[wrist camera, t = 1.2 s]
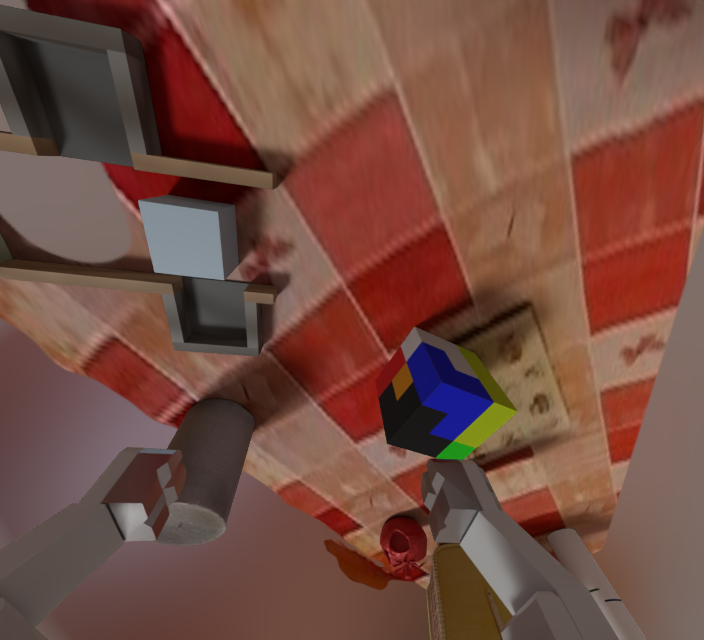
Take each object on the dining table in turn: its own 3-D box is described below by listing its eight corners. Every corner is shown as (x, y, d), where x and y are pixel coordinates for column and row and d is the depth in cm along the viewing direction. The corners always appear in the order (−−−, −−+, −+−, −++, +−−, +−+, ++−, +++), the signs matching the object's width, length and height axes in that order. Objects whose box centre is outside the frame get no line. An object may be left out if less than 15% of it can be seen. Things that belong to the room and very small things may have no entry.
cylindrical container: (571, 539, 70) (676, 705, 49) (544, 542, 70) (636, 710, 49) (579, 526, 66) (696, 700, 45) (550, 530, 67) (652, 706, 45)
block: (168, 194, 25) (138, 200, 21) (235, 204, 26) (217, 211, 22) (179, 257, 28) (154, 272, 24) (239, 264, 29) (224, 280, 25)
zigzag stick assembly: (-144, -15, 18) (-243, -51, 15) (277, 68, 21) (267, 52, 18) (36, 328, 31) (4, 345, 28) (277, 346, 34) (271, 364, 31)
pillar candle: (189, 437, 42) (127, 560, 29) (186, 393, 37) (109, 516, 24) (253, 443, 44) (221, 561, 31) (258, 401, 39) (222, 520, 26)
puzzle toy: (414, 326, 34) (441, 381, 25) (474, 353, 37) (517, 411, 28) (375, 380, 38) (387, 443, 29) (431, 400, 41) (457, 464, 32)
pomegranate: (430, 516, 60) (445, 571, 52) (402, 536, 64) (413, 589, 56) (395, 508, 57) (406, 564, 49) (368, 529, 61) (375, 584, 53)
